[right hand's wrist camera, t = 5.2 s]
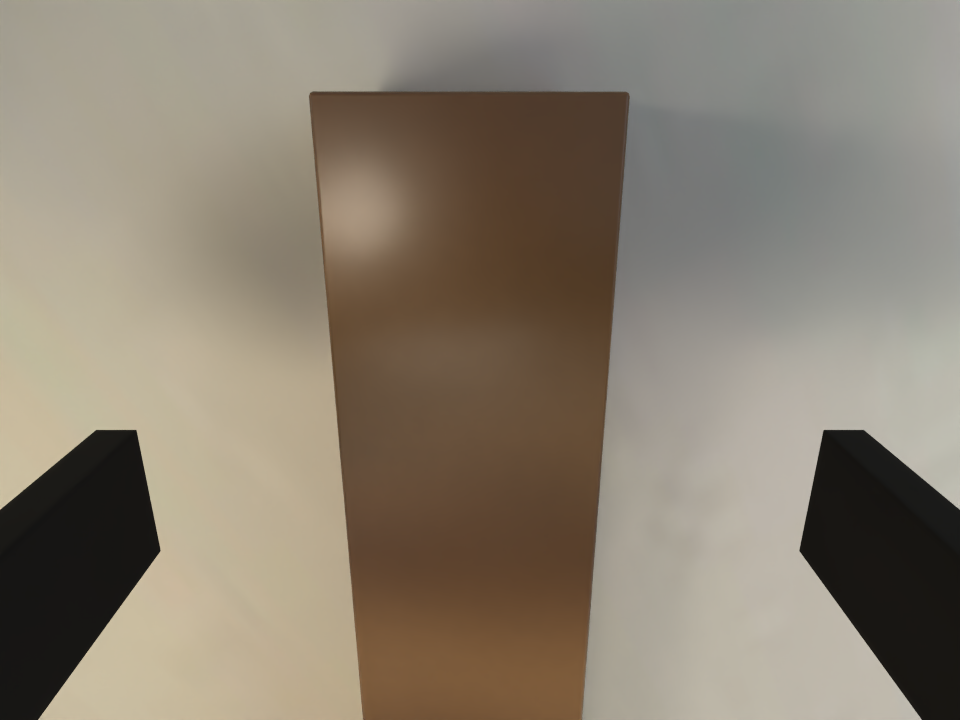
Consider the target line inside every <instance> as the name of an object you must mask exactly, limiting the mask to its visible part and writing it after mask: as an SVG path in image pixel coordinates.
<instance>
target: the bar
mask: <svg viewBox="0 0 960 720" xmlns="http://www.w3.org/2000/svg"><path fill="white" fill-rule="evenodd" d="M629 99H630V96H629V93H627V92H311V93H310V95H309V101H310V113H311V124H312V136H313V147H314V159H315V170H316V182H317V193H318V205H319V216H320V228H321V239H322V251H323V262H324V274H325V285H326V297H327V308H328V320H329V331H330V343H331V354H332V366H333V377H334V389H335V400H336V412H337V423H338V435H339V446H340V458H341V469H342V481H343V492H344V504H345V515H346V527H347V539H348V550H349V562H350V573H351V585H352V596H353V608H354V619H355V631H356V642H357V654H358V665H359V677H360V688H361V700H362V711H363V720H582V711H583V698H584V685H585V672H586V659H587V646H588V633H589V620H590V607H591V594H592V581H593V568H594V555H595V542H596V529H597V516H598V503H599V490H600V477H601V464H602V451H603V438H604V425H605V412H606V399H607V386H608V373H609V360H610V347H611V334H612V321H613V308H614V295H615V282H616V269H617V256H618V243H619V230H620V216H621V203H622V190H623V177H624V164H625V151H626V138H627V125H628V112H629Z"/></svg>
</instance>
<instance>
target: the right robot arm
mask: <svg viewBox="0 0 960 720" xmlns="http://www.w3.org/2000/svg"><path fill="white" fill-rule="evenodd" d="M159 552H160V546H159V541H158V536H157V531H156V526H155V521H154V516H153V511H152V506H151V501H150V496H149V491H148V486H147V481H146V476H145V471H144V466H143V461H142V456H141V451H140V446H139V441H138V436H137V431H136V430H96V431H95V432H93V433H92V434H91V435H90V436H89V437H87V438H86V439H85V440H84V441H83V442H81V443H80V444H79V445H78V446H77V447H75V448H74V449H73V450H72V451H70V452H69V453H68V454H67V455H66V456H64V457H63V458H62V459H61V460H60V461H58V462H57V463H56V464H55V465H54V466H52V467H51V468H50V469H49V470H48V471H46V472H45V473H44V474H43V475H42V476H40V477H39V478H38V479H37V480H36V481H34V482H33V483H32V484H31V485H30V486H28V487H27V488H26V489H25V490H24V491H22V492H21V493H20V494H19V495H18V496H16V497H15V498H14V499H13V500H12V501H10V502H9V503H8V504H7V505H6V506H4V507H3V508H2V509H1V510H0V720H38V719H39V718H40V716H41V715H42V713H43V712H44V711H45V709H46V708H47V707H48V705H49V704H50V702H51V701H52V700H53V698H54V697H55V696H56V694H57V693H58V691H59V690H60V689H61V687H62V686H63V685H64V683H65V682H66V680H67V679H68V678H69V676H70V675H71V674H72V672H73V671H74V669H75V668H76V667H77V665H78V664H79V663H80V661H81V660H82V658H83V657H84V656H85V654H86V653H87V651H88V650H89V649H90V647H91V646H92V645H93V643H94V642H95V640H96V639H97V638H98V636H99V635H100V634H101V632H102V631H103V629H104V628H105V627H106V625H107V624H108V623H109V621H110V620H111V618H112V617H113V616H114V614H115V613H116V612H117V610H118V609H119V607H120V606H121V605H122V603H123V602H124V601H125V599H126V598H127V596H128V595H129V594H130V592H131V591H132V590H133V588H134V587H135V585H136V584H137V583H138V581H139V580H140V579H141V577H142V576H143V574H144V573H145V572H146V570H147V569H148V567H149V566H150V565H151V563H152V562H153V561H154V559H155V558H156V556H157V555H158V554H159ZM800 552H801V554H802V555H803V556H804V558H805V559H806V561H807V562H808V563H809V565H810V566H811V567H812V569H813V570H814V572H815V573H816V574H817V576H818V577H819V579H820V580H821V581H822V583H823V584H824V585H825V587H826V588H827V590H828V591H829V592H830V594H831V595H832V596H833V598H834V599H835V601H836V602H837V603H838V605H839V606H840V607H841V609H842V610H843V612H844V613H845V614H846V616H847V617H848V618H849V620H850V621H851V623H852V624H853V625H854V627H855V628H856V629H857V631H858V632H859V634H860V635H861V636H862V638H863V639H864V640H865V642H866V643H867V645H868V646H869V647H870V649H871V650H872V651H873V653H874V654H875V656H876V657H877V658H878V660H879V661H880V663H881V664H882V665H883V667H884V668H885V669H886V671H887V672H888V674H889V675H890V676H891V678H892V679H893V680H894V682H895V683H896V685H897V686H898V687H899V689H900V690H901V691H902V693H903V694H904V696H905V697H906V698H907V700H908V701H909V702H910V704H911V705H912V707H913V708H914V709H915V711H916V712H917V713H918V715H919V716H920V718H921V719H922V720H960V510H959V509H958V508H957V507H956V506H954V505H953V504H952V503H951V502H950V501H948V500H947V499H946V498H945V497H944V496H942V495H941V494H940V493H939V492H938V491H936V490H935V489H934V488H933V487H932V486H930V485H929V484H928V483H927V482H926V481H924V480H923V479H922V478H921V477H920V476H918V475H917V474H916V473H915V472H914V471H912V470H911V469H910V468H909V467H908V466H906V465H905V464H904V463H903V462H902V461H900V460H899V459H898V458H897V457H896V456H894V455H893V454H892V453H891V452H890V451H888V450H887V449H886V448H885V447H883V446H882V445H881V444H880V443H879V442H877V441H876V440H875V439H874V438H873V437H871V436H870V435H869V434H868V433H867V432H865V431H864V430H824V431H823V436H822V441H821V446H820V451H819V456H818V461H817V466H816V471H815V476H814V481H813V486H812V491H811V496H810V501H809V506H808V511H807V516H806V521H805V526H804V531H803V536H802V541H801V546H800Z"/></svg>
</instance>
